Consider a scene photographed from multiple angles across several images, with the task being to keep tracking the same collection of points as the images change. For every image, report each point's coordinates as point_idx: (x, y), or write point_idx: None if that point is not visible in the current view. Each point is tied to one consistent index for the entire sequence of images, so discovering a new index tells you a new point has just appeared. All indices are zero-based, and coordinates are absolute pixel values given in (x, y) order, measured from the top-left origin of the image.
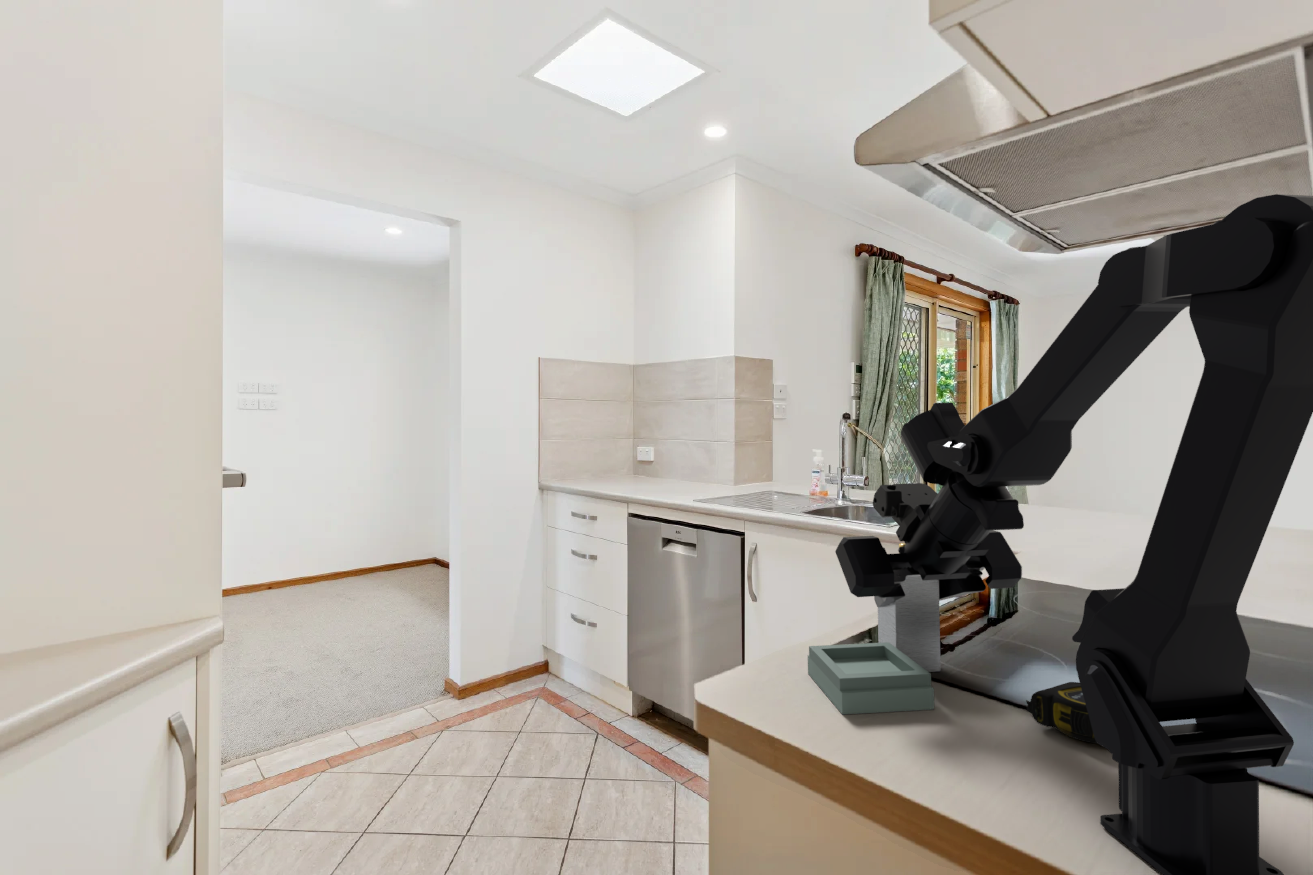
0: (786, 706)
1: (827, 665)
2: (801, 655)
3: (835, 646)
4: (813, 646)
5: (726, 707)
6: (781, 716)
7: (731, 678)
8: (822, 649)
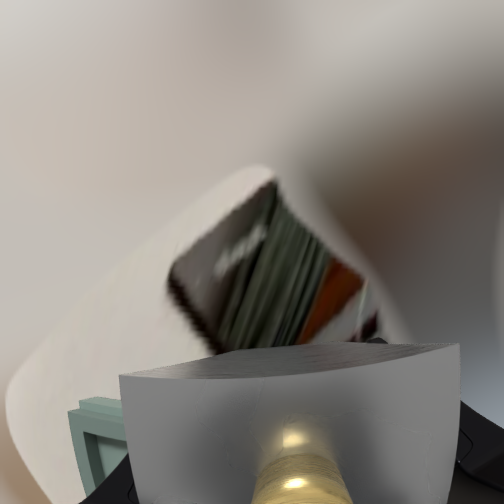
0: (67, 476)
1: (85, 492)
2: (106, 313)
3: (106, 429)
4: (73, 415)
5: (21, 450)
6: (63, 491)
7: (20, 380)
8: (85, 431)
